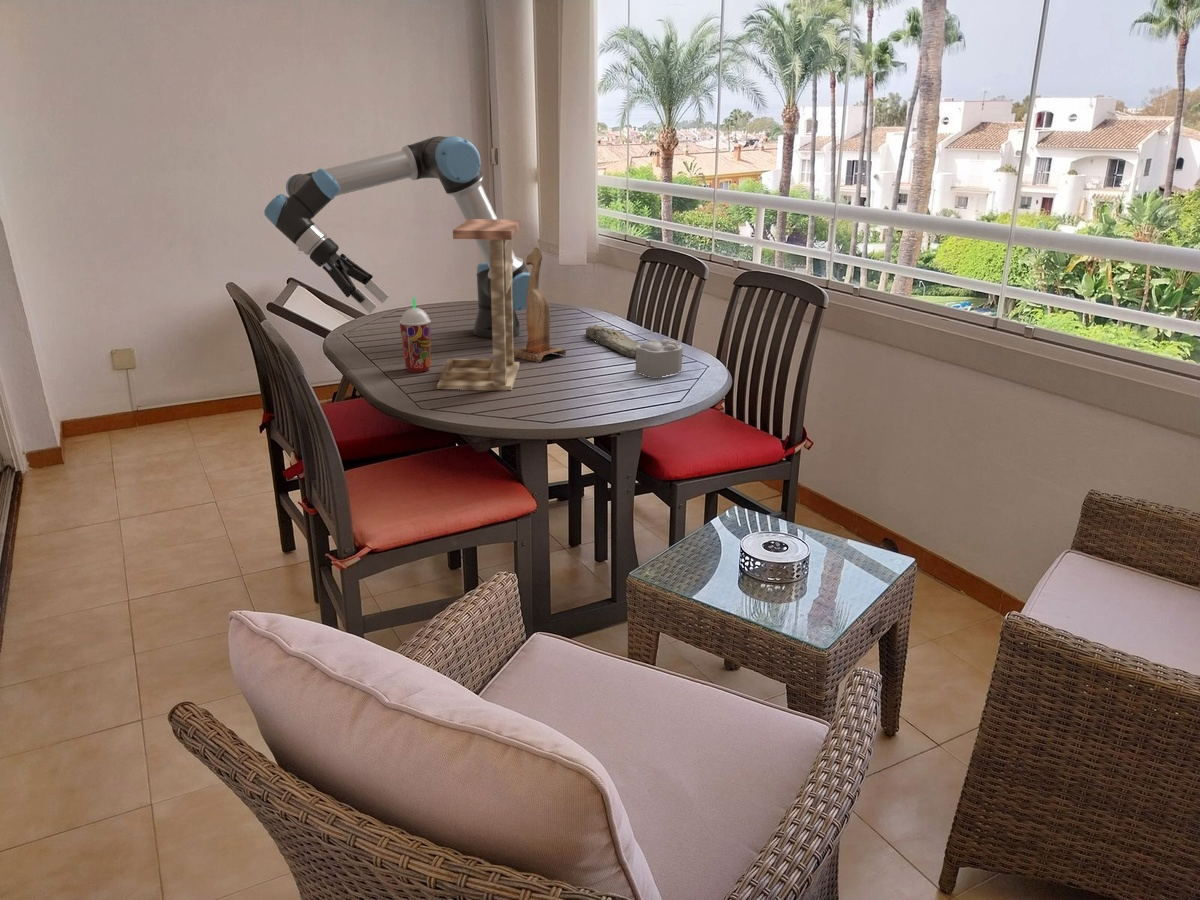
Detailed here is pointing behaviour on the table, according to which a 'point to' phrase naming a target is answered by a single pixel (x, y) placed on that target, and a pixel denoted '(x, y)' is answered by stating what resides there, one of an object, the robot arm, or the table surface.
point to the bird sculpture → (536, 316)
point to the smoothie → (416, 339)
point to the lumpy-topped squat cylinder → (659, 358)
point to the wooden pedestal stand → (502, 366)
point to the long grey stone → (613, 340)
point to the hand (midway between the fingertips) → (379, 304)
